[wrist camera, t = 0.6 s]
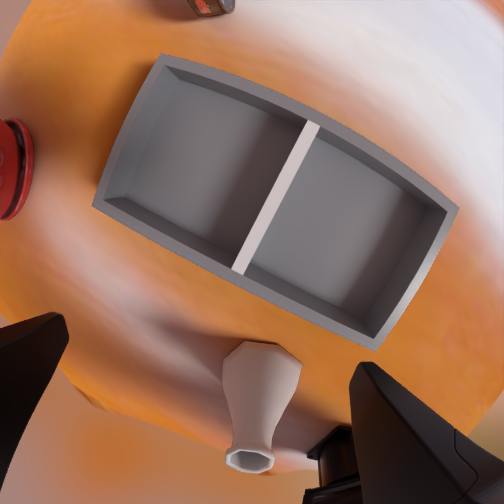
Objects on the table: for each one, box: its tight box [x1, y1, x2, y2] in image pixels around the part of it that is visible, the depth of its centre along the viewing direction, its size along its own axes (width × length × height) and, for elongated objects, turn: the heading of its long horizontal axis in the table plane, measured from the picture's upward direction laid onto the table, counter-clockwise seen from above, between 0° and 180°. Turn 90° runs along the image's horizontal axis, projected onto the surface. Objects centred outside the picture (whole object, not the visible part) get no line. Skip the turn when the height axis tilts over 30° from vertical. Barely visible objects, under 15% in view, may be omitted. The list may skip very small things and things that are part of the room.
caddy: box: [92, 53, 459, 352], centre depth 18 cm, size 12×22×4 cm, turn 63°
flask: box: [222, 341, 303, 473], centre depth 18 cm, size 7×7×10 cm
